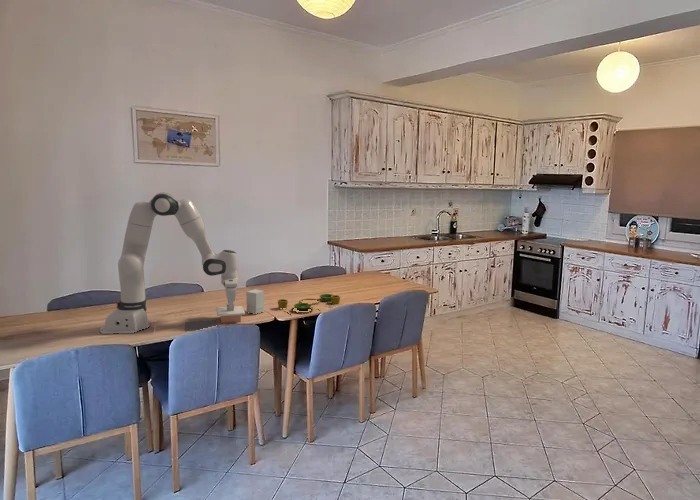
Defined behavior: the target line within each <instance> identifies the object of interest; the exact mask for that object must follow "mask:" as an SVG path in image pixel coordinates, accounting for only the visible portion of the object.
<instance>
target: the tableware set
mask: <svg viewBox="0 0 700 500" xmlns="http://www.w3.org/2000/svg"><path fill="white" fill-rule="evenodd" d="M319 298H320V299H316V298H303V299H302V298H301V299H300V300H299V302H297V303H295V304H293V307H292V308H291V309H290V311H291V312H292V311H293V309H294V308H297V310H299V311H308V309H311V311H309V312H310V313H312V312H313V311H314V309H313V308H311V307H312V306H315V304H316V305H318V303H319V304H320V303H321V301H322V300H323V301H322V302H326V301H329V302H331V304H332V305H325V306H326V307H325V308H327V307H328V309H329V308H330V309H331V308H333V307H336V306H342V305H343V303H341V302H340V300H341V296H340V294H339V295H338V294H332V293H323V294H319ZM303 300H317V301H319V302H318V303H317V302H316V303H312V304H308V303H302V302H301V301H303ZM288 301H289V300H288V299H284V298H281V299H277V306H278V309H279V308H282V309H283V308H286V309H287V308H288ZM294 312H296V311H293V312H292V313H294ZM309 312H298V313H306V314H310V313H309ZM298 313H297V314H298Z"/></svg>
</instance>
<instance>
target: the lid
mask: <svg viewBox="0 0 700 500" xmlns="http://www.w3.org/2000/svg"><path fill="white" fill-rule="evenodd" d="M215 311H216V315H217V317H220V316H231V315H241V316H243V315H246V312H245V310H244V306H243V305H239V306H238V305H236V306H235V304H234V303H233V308H229V303H228V302H226V306H221V307H219V306H218V307H215Z"/></svg>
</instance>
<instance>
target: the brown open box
mask: <svg viewBox="0 0 700 500" xmlns="http://www.w3.org/2000/svg"><path fill="white" fill-rule="evenodd" d="M219 319H220V323H221V324H228V323H229V324H234V323H242V315H231V316H219Z"/></svg>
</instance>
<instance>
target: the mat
mask: <svg viewBox="0 0 700 500" xmlns="http://www.w3.org/2000/svg"><path fill="white" fill-rule="evenodd" d="M216 325H218V326H219V324H218V320H217V319H209V320H208V319H206V320H193V321H184V332H196V330H200V329H203V328H208V327H212V326H216ZM200 331H201V330H200Z"/></svg>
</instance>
